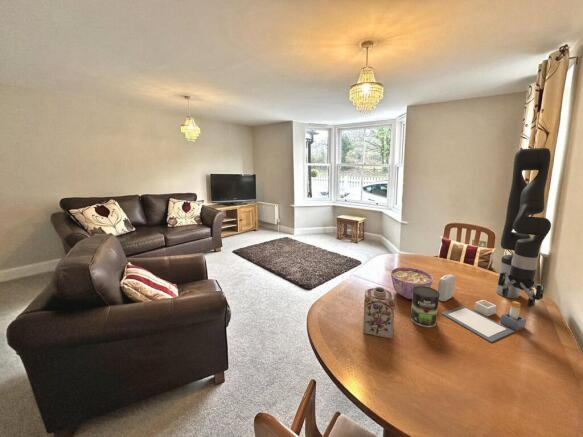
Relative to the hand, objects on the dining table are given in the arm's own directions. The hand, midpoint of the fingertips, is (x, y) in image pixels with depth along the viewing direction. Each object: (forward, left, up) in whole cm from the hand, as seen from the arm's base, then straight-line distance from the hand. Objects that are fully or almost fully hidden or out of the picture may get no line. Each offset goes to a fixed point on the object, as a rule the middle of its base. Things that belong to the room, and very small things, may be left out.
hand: (516, 301), depth 106 cm
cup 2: (0, 0, -11) cm, 11 cm away
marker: (0, 0, -11) cm, 11 cm away
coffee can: (+31, -18, -11) cm, 38 cm away
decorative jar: (+53, -22, -12) cm, 59 cm away
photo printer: (+5, -27, -12) cm, 30 cm away
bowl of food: (+20, -36, -11) cm, 43 cm away
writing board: (+12, -7, -11) cm, 18 cm away
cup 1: (0, -11, -11) cm, 16 cm away
